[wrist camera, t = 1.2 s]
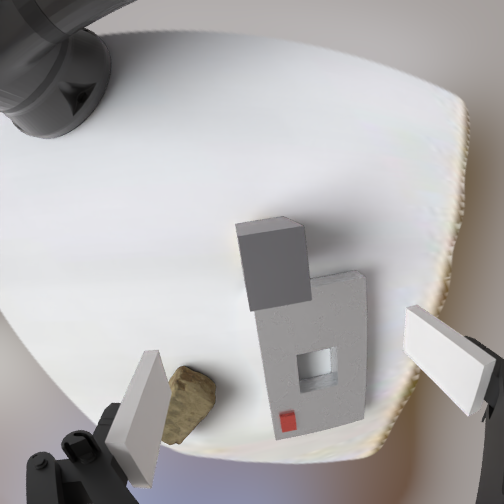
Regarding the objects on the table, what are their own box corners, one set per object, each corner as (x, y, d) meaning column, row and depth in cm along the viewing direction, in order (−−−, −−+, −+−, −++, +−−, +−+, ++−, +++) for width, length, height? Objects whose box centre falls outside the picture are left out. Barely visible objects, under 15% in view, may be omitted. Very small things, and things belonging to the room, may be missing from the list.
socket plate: (250, 289, 36) (252, 300, 32) (355, 270, 36) (367, 278, 33) (273, 426, 40) (276, 443, 37) (356, 407, 41) (365, 421, 37)
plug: (234, 221, 34) (237, 236, 23) (279, 214, 34) (303, 225, 23) (243, 273, 35) (250, 311, 24) (286, 266, 36) (312, 300, 24)
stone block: (145, 412, 38) (138, 434, 34) (180, 358, 37) (175, 380, 32) (180, 429, 39) (177, 451, 34) (219, 379, 38) (219, 401, 33)
